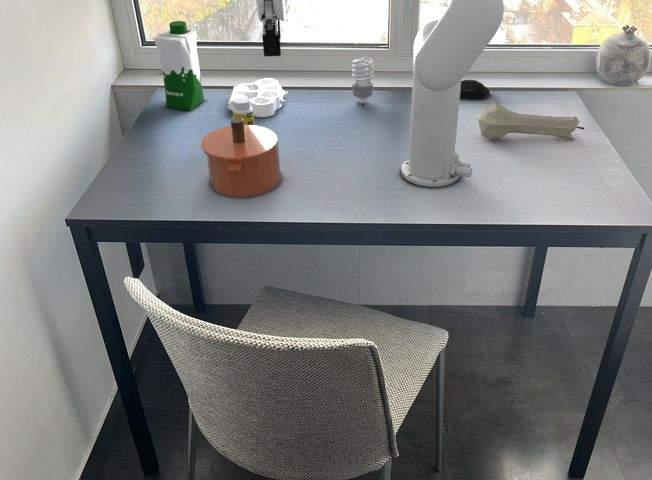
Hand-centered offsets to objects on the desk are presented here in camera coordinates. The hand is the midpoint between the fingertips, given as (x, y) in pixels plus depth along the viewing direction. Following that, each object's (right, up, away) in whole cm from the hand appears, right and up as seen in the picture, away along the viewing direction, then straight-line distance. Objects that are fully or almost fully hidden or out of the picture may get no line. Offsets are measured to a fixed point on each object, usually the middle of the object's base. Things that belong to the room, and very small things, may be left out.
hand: (272, 47), depth 133 cm
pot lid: (-8, -18, +6) cm, 20 cm away
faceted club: (+57, -13, +27) cm, 64 cm away
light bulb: (+18, 0, +45) cm, 48 cm away
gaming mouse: (+44, +3, +49) cm, 66 cm away
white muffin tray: (-9, 0, +44) cm, 45 cm away
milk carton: (-28, -1, +44) cm, 52 cm away
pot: (-7, -24, +11) cm, 28 cm away
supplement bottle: (-10, -11, +30) cm, 33 cm away
